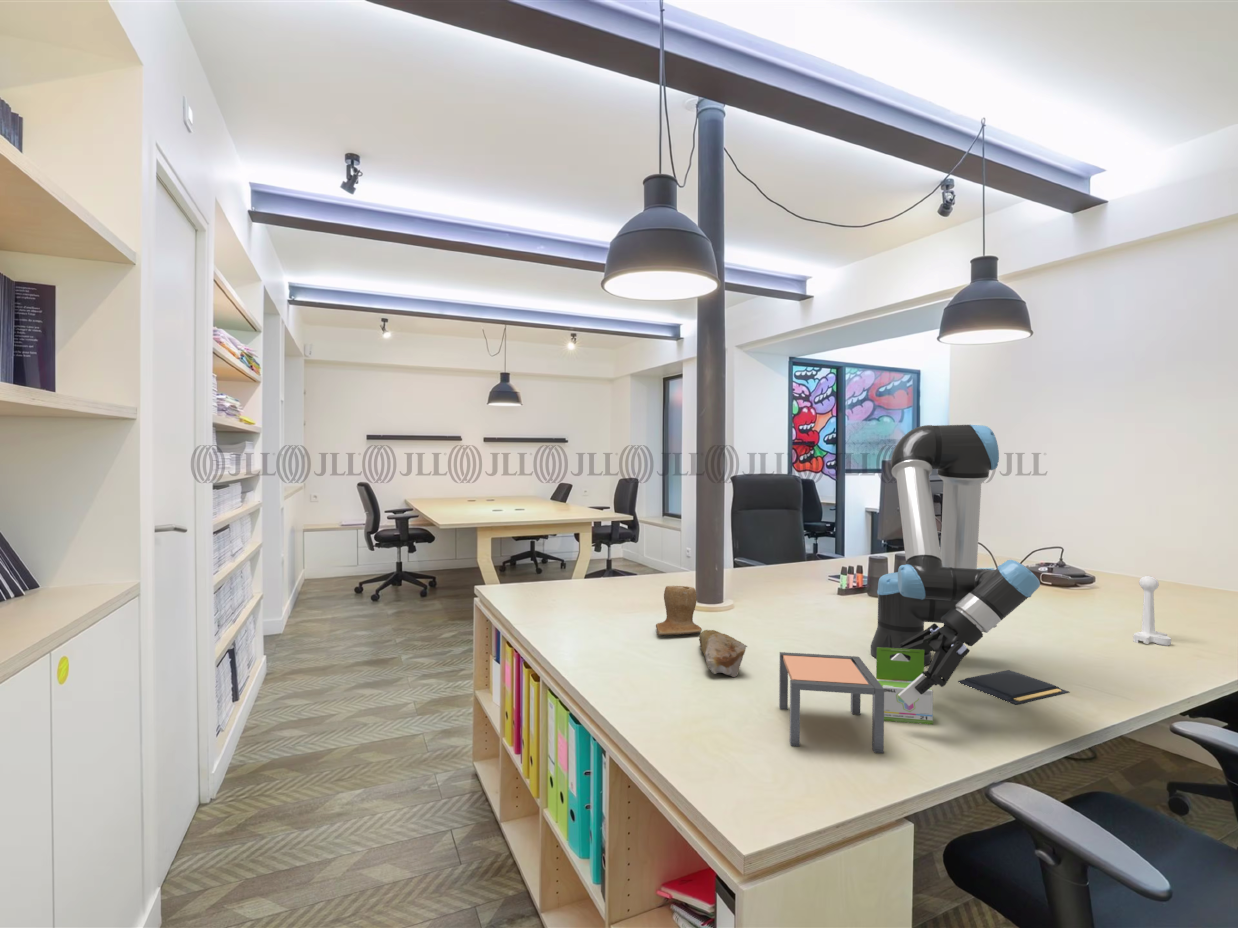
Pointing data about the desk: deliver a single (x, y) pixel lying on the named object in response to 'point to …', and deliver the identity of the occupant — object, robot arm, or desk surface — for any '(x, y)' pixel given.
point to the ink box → (903, 686)
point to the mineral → (721, 652)
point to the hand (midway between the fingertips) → (892, 687)
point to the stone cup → (679, 611)
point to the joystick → (1150, 615)
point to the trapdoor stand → (854, 689)
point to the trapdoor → (823, 670)
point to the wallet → (1013, 687)
